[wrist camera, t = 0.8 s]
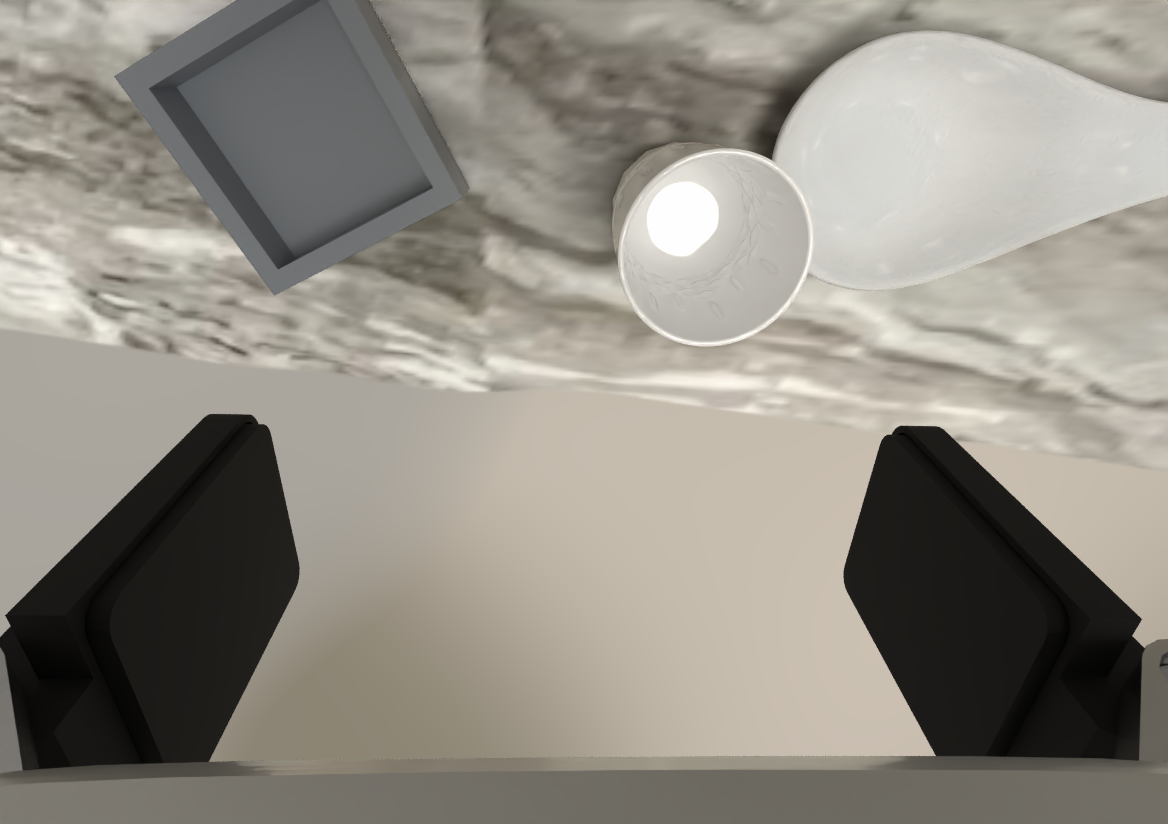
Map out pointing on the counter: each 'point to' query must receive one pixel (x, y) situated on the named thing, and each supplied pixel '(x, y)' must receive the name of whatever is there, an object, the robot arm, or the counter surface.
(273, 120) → the tray
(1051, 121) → the spoon rest
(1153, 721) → the robot arm
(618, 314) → the counter surface
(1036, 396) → the counter surface
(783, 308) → the white cup
